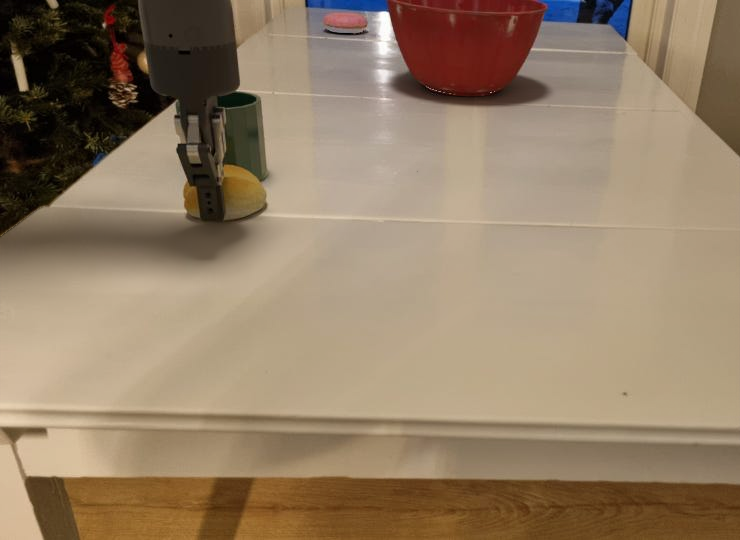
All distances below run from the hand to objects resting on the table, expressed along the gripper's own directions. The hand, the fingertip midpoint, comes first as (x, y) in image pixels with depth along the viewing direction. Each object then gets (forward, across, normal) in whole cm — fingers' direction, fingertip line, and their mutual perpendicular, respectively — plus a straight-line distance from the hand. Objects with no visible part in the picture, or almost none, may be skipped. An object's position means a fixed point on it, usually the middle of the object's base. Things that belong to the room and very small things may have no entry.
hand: (213, 218), depth 70 cm
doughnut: (+1, -118, +17) cm, 119 cm away
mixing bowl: (+2, -60, +36) cm, 70 cm away
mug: (+1, -17, -1) cm, 17 cm away
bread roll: (+2, -6, 0) cm, 6 cm away
